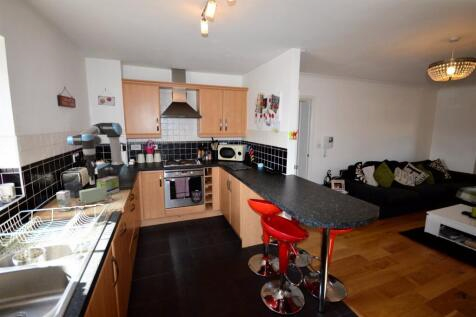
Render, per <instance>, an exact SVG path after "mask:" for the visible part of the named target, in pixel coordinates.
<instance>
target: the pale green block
mask: <svg viewBox="0 0 476 317" xmlns="http://www.w3.org/2000/svg"><path fill="white" fill-rule="evenodd" d="M79 195H80V197H79V199H80V202H82V201H86V204H89V203H93V202H97V201H101V200H105V196H107V190H106V187H105V186H102V187H97V186H96V187H93V188H86V189H83V190H81V191H79Z"/></svg>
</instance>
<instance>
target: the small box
mask: <svg viewBox="0 0 476 317" xmlns="http://www.w3.org/2000/svg"><path fill="white" fill-rule="evenodd" d="M63 185H64V191H70V197H71V199H72V198H73V199H79V198H80V195H79V191H81V190H84V188H83V183H82V182H76V181H70V182H66V183H63Z"/></svg>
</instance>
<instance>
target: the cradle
mask: <svg viewBox="0 0 476 317" xmlns="http://www.w3.org/2000/svg"><path fill="white" fill-rule="evenodd" d="M74 201H75V202H74V203H75V205H74V206H85V205H94V204H103V205H106V204H110V203H113V198H112V194H111V195H110V194H108V193H107V196H105V200H101V201H97V202H93V203H89V204H86V201H82V202H80V198H77V199H75V200H74ZM90 208H95V207H94V206H93V207H84V208H83V210H88V209H90ZM79 209H81V208H79ZM79 209H78V210H79ZM83 210H82V211H83Z"/></svg>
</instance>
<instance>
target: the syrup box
mask: <svg viewBox="0 0 476 317" xmlns="http://www.w3.org/2000/svg"><path fill="white" fill-rule="evenodd" d="M55 194H56V202H57V209H58V208H62V207H72V208H73V206H72V197H70V191H65V190H59V191H58V192H56V193H55ZM71 210H72V209H58V212H59V213H61V212H62V213H67V212H69V211H71Z"/></svg>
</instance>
